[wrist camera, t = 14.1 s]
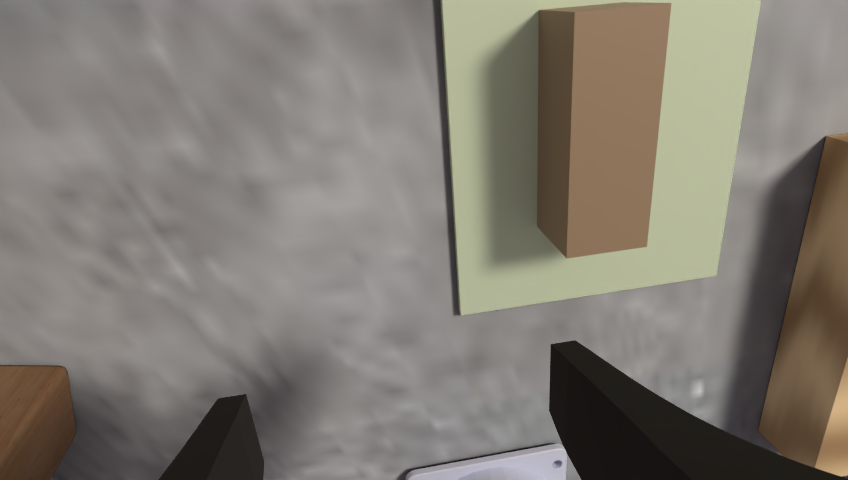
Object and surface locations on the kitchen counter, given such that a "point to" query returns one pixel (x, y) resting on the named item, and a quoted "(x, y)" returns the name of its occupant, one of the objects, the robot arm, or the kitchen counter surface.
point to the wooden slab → (816, 332)
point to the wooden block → (34, 421)
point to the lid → (590, 142)
